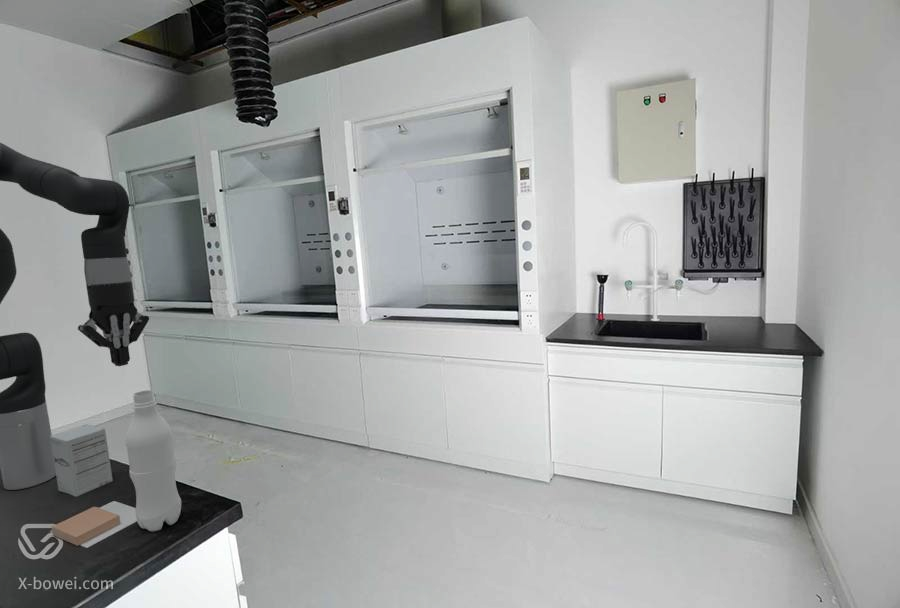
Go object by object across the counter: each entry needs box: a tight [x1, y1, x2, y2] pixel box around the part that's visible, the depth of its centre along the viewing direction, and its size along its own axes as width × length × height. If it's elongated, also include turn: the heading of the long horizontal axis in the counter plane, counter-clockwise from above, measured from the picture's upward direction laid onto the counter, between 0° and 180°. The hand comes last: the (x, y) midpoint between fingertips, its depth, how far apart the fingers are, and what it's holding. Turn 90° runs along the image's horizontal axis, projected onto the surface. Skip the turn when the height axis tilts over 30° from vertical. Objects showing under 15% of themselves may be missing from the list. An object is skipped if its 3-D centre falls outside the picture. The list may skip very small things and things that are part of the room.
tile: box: [51, 506, 121, 547], centre depth 87 cm, size 8×2×7 cm
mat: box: [49, 500, 138, 549], centre depth 89 cm, size 12×11×1 cm
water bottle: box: [124, 389, 182, 532], centre depth 87 cm, size 7×7×25 cm
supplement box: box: [50, 423, 114, 498], centre depth 103 cm, size 7×7×13 cm
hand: (121, 365), depth 98 cm, fingers closed
